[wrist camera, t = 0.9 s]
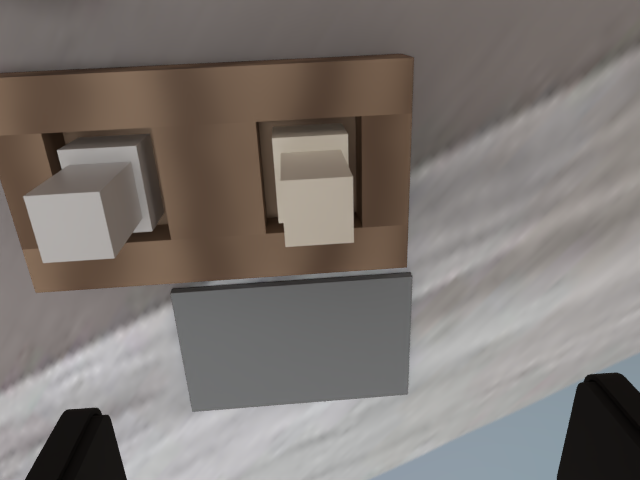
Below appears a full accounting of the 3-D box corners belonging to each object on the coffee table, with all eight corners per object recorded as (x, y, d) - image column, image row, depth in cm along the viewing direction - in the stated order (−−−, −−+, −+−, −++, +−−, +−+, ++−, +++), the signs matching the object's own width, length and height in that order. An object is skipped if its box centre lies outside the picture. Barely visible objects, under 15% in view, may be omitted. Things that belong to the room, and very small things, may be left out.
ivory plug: (341, 123, 29) (361, 158, 22) (343, 201, 31) (362, 257, 24) (272, 126, 29) (269, 163, 22) (279, 205, 31) (278, 262, 24)
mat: (410, 272, 34) (412, 276, 33) (406, 388, 38) (407, 394, 37) (172, 289, 33) (170, 293, 33) (193, 406, 37) (192, 411, 37)
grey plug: (150, 133, 29) (104, 173, 21) (164, 212, 30) (127, 273, 23) (78, 137, 28) (7, 178, 21) (97, 216, 30) (38, 279, 23)
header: (400, 53, 28) (413, 57, 25) (396, 246, 33) (406, 267, 30) (0, 73, 27) (-31, 79, 24) (56, 269, 32) (35, 292, 29)
